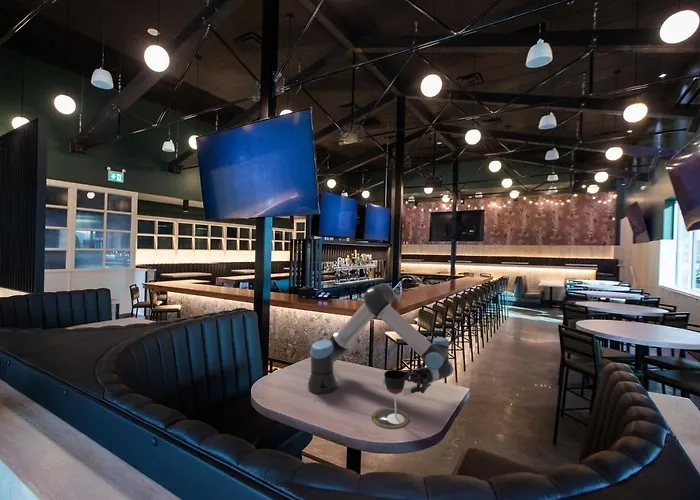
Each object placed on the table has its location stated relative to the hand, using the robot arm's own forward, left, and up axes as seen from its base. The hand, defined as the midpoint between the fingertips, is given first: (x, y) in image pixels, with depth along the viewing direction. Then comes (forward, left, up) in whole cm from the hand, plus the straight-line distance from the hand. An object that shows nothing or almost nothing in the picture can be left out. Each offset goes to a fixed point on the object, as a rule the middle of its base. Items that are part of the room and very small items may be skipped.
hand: (393, 386), depth 150 cm
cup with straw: (-65, +29, -14) cm, 72 cm away
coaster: (-1, -1, -14) cm, 14 cm away
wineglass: (+2, -2, -13) cm, 13 cm away
